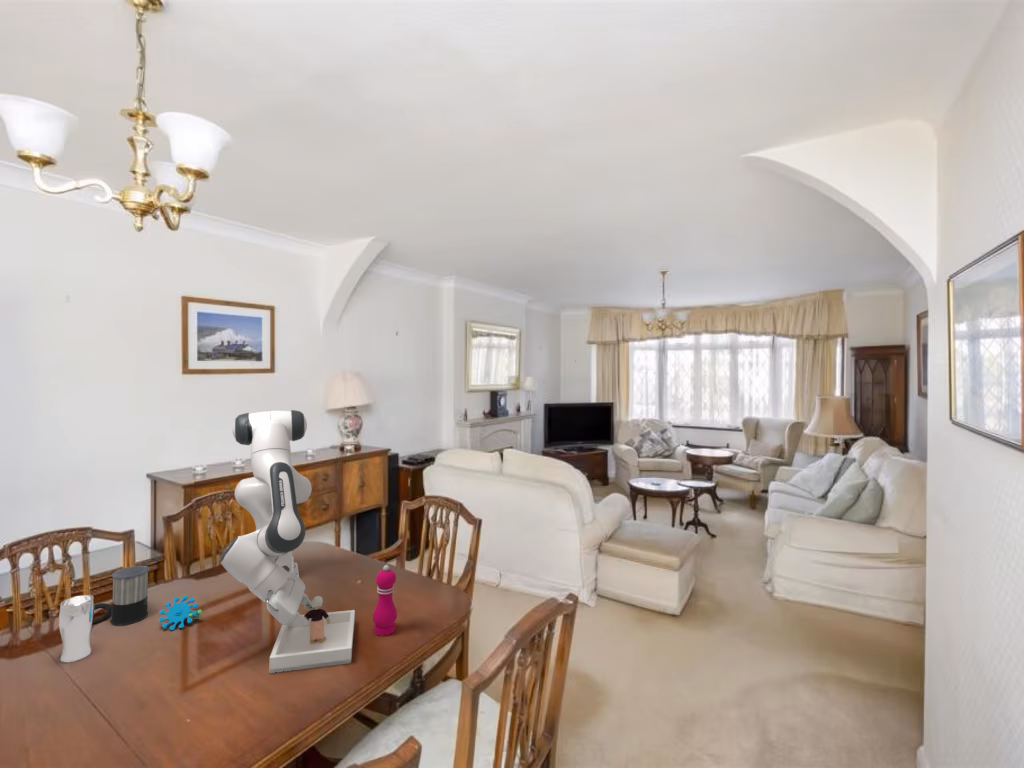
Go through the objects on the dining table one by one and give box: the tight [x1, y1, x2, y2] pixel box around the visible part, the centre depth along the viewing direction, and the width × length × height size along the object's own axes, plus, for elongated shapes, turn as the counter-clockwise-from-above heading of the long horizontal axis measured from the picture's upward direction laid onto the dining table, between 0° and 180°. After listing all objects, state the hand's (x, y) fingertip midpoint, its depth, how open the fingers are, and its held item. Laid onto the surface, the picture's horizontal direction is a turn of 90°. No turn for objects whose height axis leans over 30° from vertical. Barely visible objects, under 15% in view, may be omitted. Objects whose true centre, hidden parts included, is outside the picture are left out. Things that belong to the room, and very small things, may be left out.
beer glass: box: [58, 594, 95, 663], centre depth 128 cm, size 7×7×15 cm
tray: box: [268, 609, 356, 674], centre depth 136 cm, size 22×20×4 cm
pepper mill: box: [372, 564, 398, 637], centre depth 145 cm, size 7×7×20 cm
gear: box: [158, 595, 203, 631], centre depth 147 cm, size 11×6×10 cm
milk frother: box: [93, 565, 150, 626], centre depth 147 cm, size 14×16×15 cm
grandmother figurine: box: [304, 595, 331, 644], centre depth 137 cm, size 8×4×13 cm, turn 109°
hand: (309, 615), depth 135 cm, fingers open, 8 cm apart
